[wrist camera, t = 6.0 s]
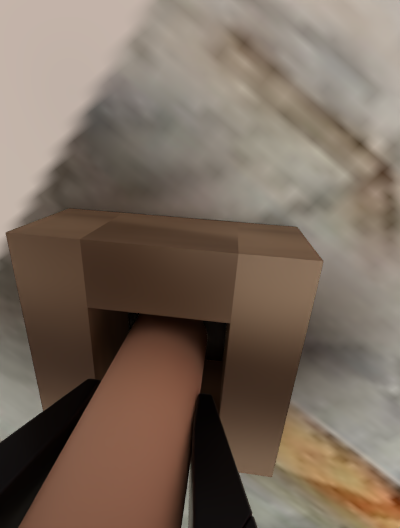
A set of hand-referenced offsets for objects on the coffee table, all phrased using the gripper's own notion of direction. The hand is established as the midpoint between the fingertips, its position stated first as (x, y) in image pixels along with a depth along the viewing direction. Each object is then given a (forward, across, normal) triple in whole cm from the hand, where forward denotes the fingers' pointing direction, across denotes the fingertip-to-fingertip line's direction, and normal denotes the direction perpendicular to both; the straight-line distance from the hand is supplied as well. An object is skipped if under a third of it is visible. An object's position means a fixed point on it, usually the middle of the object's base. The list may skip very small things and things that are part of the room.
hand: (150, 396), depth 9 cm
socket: (+4, 0, 0) cm, 4 cm away
